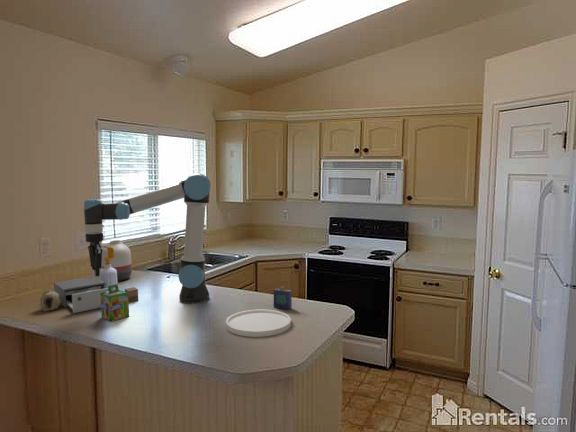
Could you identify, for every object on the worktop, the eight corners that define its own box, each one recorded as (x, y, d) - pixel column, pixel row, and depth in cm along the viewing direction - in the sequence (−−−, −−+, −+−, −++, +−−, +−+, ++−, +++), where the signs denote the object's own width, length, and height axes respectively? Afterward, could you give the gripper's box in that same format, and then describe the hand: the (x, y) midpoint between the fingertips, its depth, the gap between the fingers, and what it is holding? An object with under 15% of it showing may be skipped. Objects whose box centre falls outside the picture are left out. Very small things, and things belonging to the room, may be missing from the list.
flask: (292, 308, 211) (292, 286, 210) (290, 310, 208) (289, 288, 207) (274, 306, 214) (274, 284, 213) (272, 308, 212) (272, 286, 210)
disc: (100, 295, 217) (99, 291, 216) (82, 298, 211) (82, 294, 211) (94, 291, 223) (94, 288, 222) (77, 294, 217) (77, 291, 217)
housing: (106, 299, 228) (105, 282, 227) (64, 307, 215) (63, 289, 214) (95, 292, 242) (94, 276, 241) (55, 299, 229) (53, 282, 228)
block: (138, 300, 226) (137, 289, 225) (128, 302, 222) (128, 290, 222) (134, 298, 229) (134, 287, 229) (125, 300, 226) (124, 288, 225)
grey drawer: (114, 304, 218) (113, 287, 217) (73, 313, 205) (72, 295, 204) (101, 297, 232) (100, 280, 231) (63, 304, 219) (61, 287, 218)
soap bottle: (96, 290, 245) (94, 247, 242) (109, 286, 253) (106, 244, 251) (109, 292, 242) (106, 248, 239) (121, 287, 250) (119, 245, 247)
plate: (266, 342, 170) (266, 336, 170) (212, 329, 185) (212, 323, 185) (302, 321, 194) (302, 315, 194) (251, 310, 209) (251, 305, 208)
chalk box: (111, 322, 194) (109, 289, 192) (100, 317, 200) (98, 285, 198) (130, 316, 201) (128, 285, 199) (119, 312, 207) (118, 281, 205)
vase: (107, 276, 278) (105, 239, 275) (135, 275, 280) (133, 238, 277) (98, 283, 261) (96, 243, 259) (128, 282, 263) (126, 243, 260)
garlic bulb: (42, 314, 213) (34, 295, 212) (60, 307, 218) (53, 288, 218) (47, 312, 206) (39, 292, 206) (65, 305, 212) (58, 286, 212)
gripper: (107, 233, 201) (110, 283, 203) (97, 230, 211) (100, 278, 213) (90, 235, 196) (93, 286, 198) (81, 232, 206) (84, 281, 208)
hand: (96, 282), depth 206 cm, fingers closed
